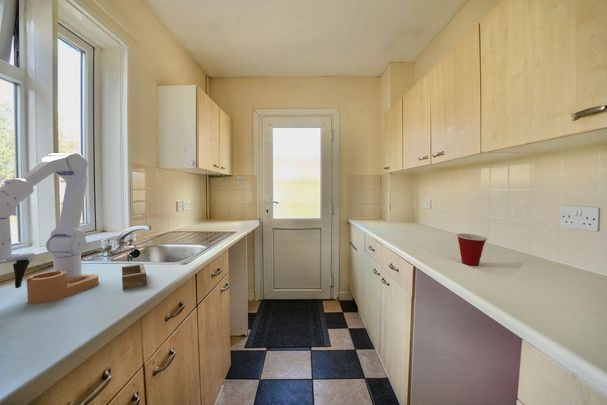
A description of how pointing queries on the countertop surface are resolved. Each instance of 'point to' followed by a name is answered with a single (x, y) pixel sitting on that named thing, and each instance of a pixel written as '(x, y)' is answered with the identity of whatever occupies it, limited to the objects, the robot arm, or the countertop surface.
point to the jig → (133, 276)
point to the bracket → (56, 286)
